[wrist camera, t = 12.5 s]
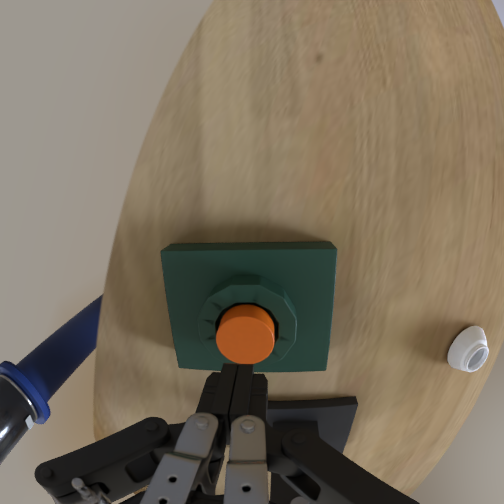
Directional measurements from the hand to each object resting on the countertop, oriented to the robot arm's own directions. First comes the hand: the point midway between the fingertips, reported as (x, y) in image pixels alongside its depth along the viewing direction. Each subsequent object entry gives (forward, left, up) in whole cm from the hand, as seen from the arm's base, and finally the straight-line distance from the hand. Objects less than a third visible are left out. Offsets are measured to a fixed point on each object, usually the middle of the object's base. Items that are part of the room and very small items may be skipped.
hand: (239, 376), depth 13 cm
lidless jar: (+22, -6, -9) cm, 25 cm away
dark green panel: (0, 0, -9) cm, 9 cm away
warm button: (0, 0, -5) cm, 5 cm away
